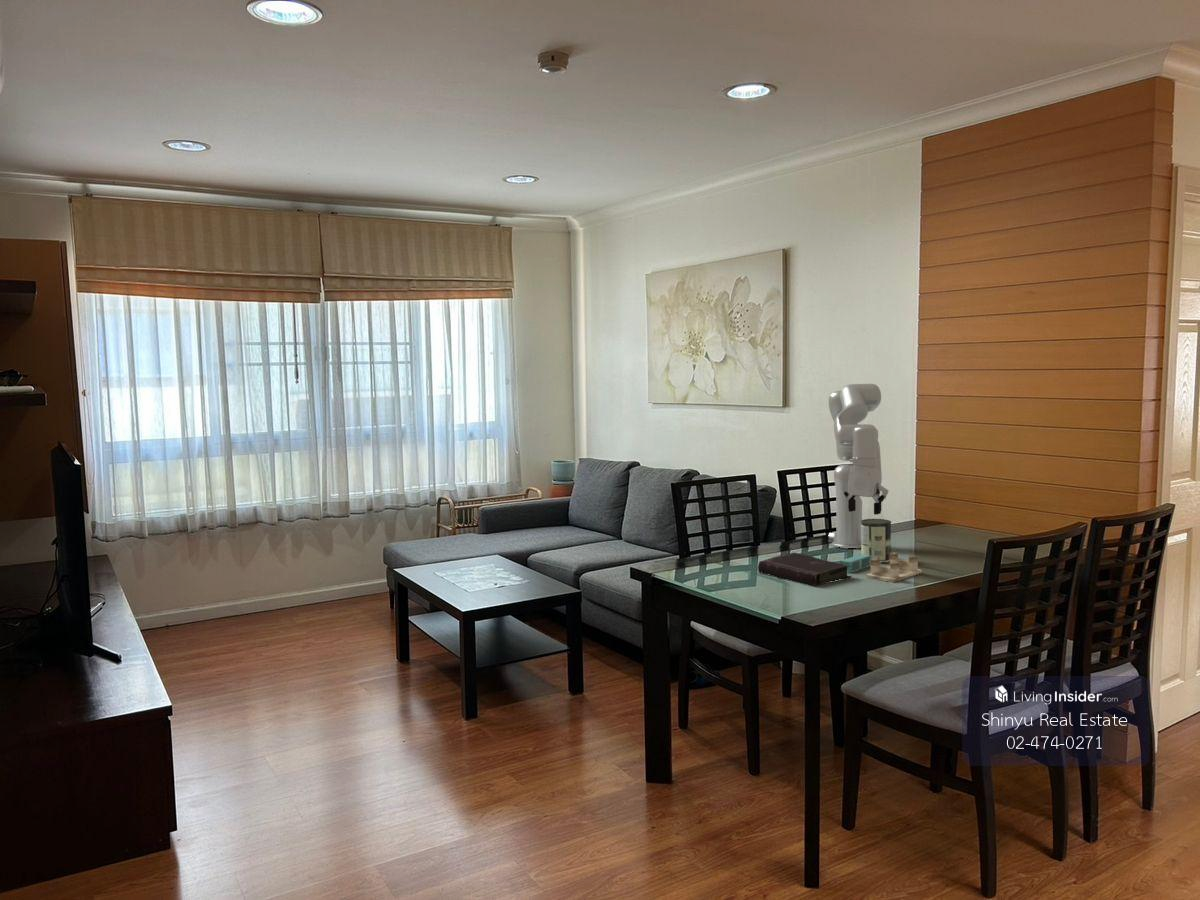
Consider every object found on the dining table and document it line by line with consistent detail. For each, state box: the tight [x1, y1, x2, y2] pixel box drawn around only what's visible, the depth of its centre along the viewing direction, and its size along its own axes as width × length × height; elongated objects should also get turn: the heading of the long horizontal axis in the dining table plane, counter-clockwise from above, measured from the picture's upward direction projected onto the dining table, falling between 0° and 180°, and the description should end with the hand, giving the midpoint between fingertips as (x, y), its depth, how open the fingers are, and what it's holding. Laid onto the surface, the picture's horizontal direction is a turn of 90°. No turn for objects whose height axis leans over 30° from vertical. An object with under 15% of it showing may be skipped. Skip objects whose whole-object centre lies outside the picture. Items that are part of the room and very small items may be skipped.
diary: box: [757, 552, 852, 587], centre depth 288 cm, size 19×25×5 cm
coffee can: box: [860, 518, 892, 564], centre depth 306 cm, size 10×10×14 cm
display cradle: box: [865, 552, 923, 584], centre depth 284 cm, size 10×18×6 cm, turn 132°
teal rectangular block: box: [840, 553, 871, 574], centre depth 295 cm, size 4×14×4 cm, turn 133°
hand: (864, 512), depth 293 cm, fingers open, 9 cm apart
